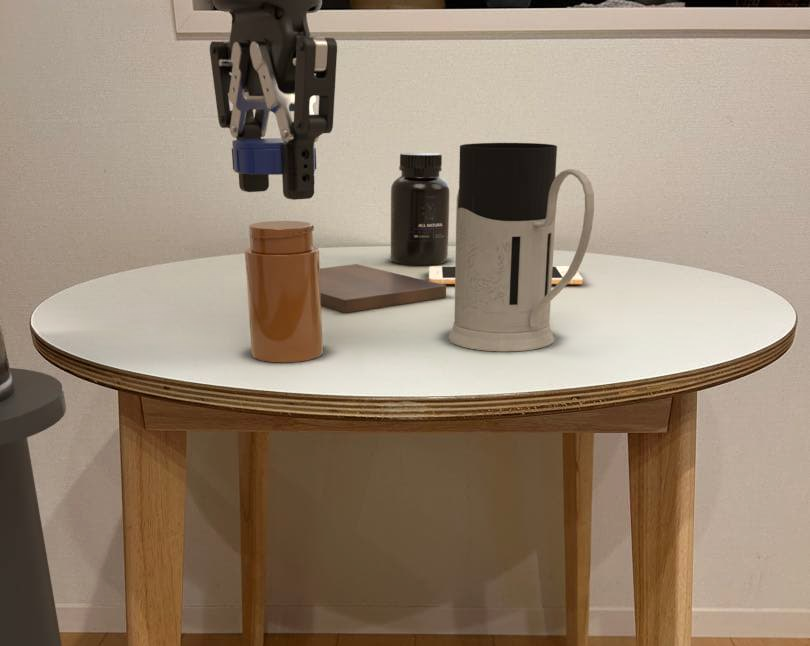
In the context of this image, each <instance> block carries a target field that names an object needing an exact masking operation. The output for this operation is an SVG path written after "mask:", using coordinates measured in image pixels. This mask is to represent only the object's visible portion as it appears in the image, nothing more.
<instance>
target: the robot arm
mask: <svg viewBox="0 0 810 646" xmlns="http://www.w3.org/2000/svg"><path fill="white" fill-rule="evenodd" d="M212 4H213V6H214V7H215V9H216V10H218V11H220V12H225V13H229V14H230V16H231V28H230V35H229V40H221V41H218V40H217V41H211V42H210V44H209V56H210V64H211V65H210V66H211V72H212V79H213V88H214V97H215V103H216V111H217V119H218V124H219V127H220V128H222V129H229V132H230V135H231V136H232V138H234V139H235V140H242V139H262V138H264V137H265V136H266V133H267V129H268V124H269V123H268V122H269V117H270V113H273V114H274V116H275V118H276V123H277V126H278V131H279V134H280V138H282V140H283V142H284V143H287V144H281V155H282V174H281V177H282V194H283V197H284V198H285V199H287V200H293V201H296V200H309V199H311V198H312V199H313V197H314V194H315V171H314V147H315V146H314V145H315V143H317V142H318V141H319V138H320V136H322V135H323V134H331V133H332V131H333V127H334V114H335V94H336V80H337V79H336V76H337V74H336V73H337V60H338V59H337V58H338V44H337V41H336V39H335V37H323V36H321V37H320V36H312V35H311V31H310V28H309V22H308V16H307V14H314V13H317V12H318V11H320V9H321V8H322V5H323V0H212ZM317 96H318V98H317ZM317 101H318V113H317V114H316V113H315V110H314V105H316V104H317ZM230 103H231V104H232V110H231V107H230ZM254 110H255V111H254ZM291 112H293V118H292V114H291ZM269 176H270V175H259V174H242V173H238V186H239V189H240V190H241V191H242V192H246V193H258V192H259V193H260V192H266V191H268V189H269V186H270V177H269ZM9 362H10V361H9V358H8V355H7V349H6V343H5V338H4V332H3V324H2V320H1V318H0V401H2V400H4V399H6V398H8V397H9V396H10V395H11V394H12V393H13V392H14V387H13V381H12V375H11V373H10V372H9V368H10V363H9Z"/></svg>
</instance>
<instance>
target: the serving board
mask: <svg viewBox="0 0 810 646" xmlns="http://www.w3.org/2000/svg"><path fill="white" fill-rule="evenodd" d="M320 289H321V307H326V308H329V309H332V310H335V311H339V312H342V313H345V314H346V313H353V312H359V311H366V310H373V309H379V308H385V307H393V306H400V305H405V304H412V303H418V302H425V301H430V300H431V301H432V300H438V299H445V298H447V284H438V283H434V282H430V281H429V280H425V279H420V278H416V277H413V276H409V275H405V274H399V273H396V272H391V271H387V270H383V269H379V268H374V267H372V266H371V267H370V266H366V265H361V264H357V263H354V264H345V265H337V266H329V267H320Z"/></svg>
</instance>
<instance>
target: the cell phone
mask: <svg viewBox="0 0 810 646" xmlns="http://www.w3.org/2000/svg"><path fill="white" fill-rule="evenodd" d="M569 267H570V265H568V266H566V265H564V266H563V265H561V266H560V265H559V266H558V265H556V266H555V265H553V268H552V285H557V284H558V283H559V282H560V280H561V279H562V278H563V277H564V275H565V274H566V273H567V271H568V269H569ZM428 281H430V282H434V283H438V284H442V285H455V265H439V266H438V265H430V266H429V267H428ZM583 281H584V278H583V277H582V275H581V274H580V273H579V271H577V273H576V274H575V276H574V277H573V278H572V279H571V281H570V282H569V283H568V284H567V285H583Z"/></svg>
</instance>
